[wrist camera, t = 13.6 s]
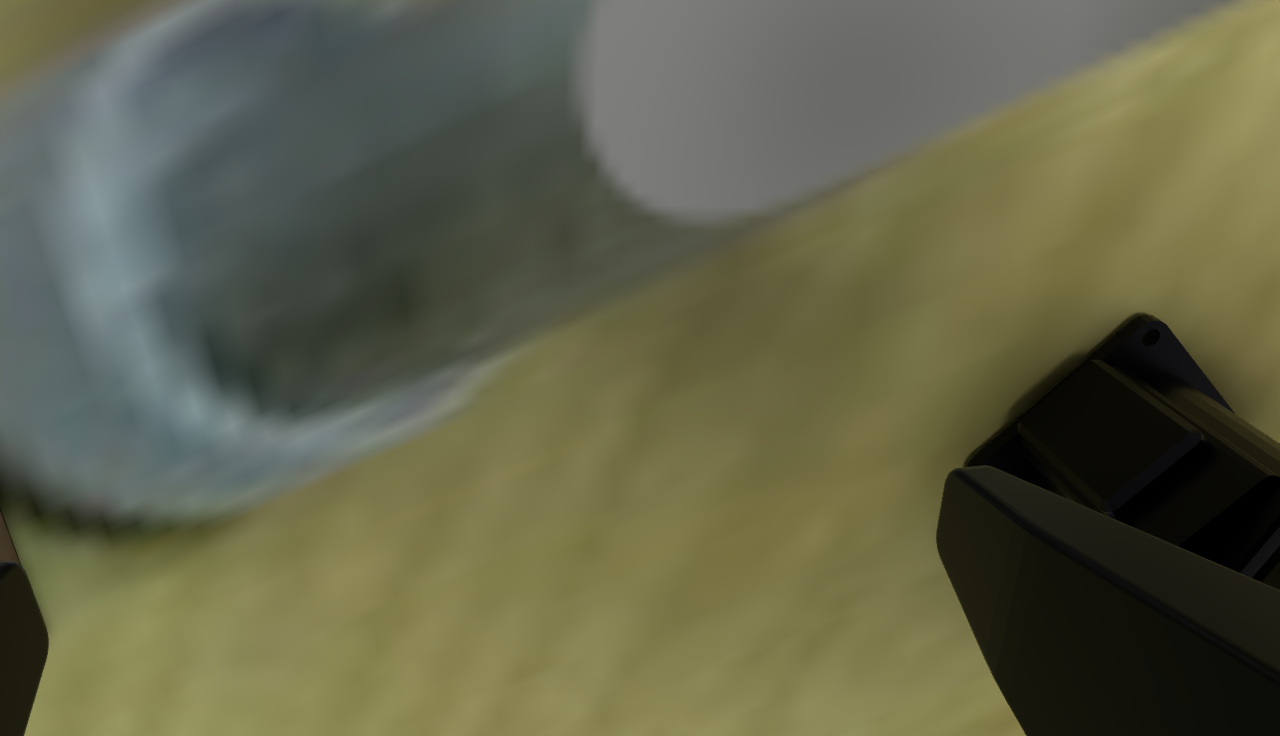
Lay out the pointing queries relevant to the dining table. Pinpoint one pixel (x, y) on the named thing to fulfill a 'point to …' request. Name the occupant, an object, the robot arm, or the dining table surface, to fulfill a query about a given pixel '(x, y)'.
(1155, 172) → the dining table surface
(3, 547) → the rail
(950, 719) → the dining table surface
